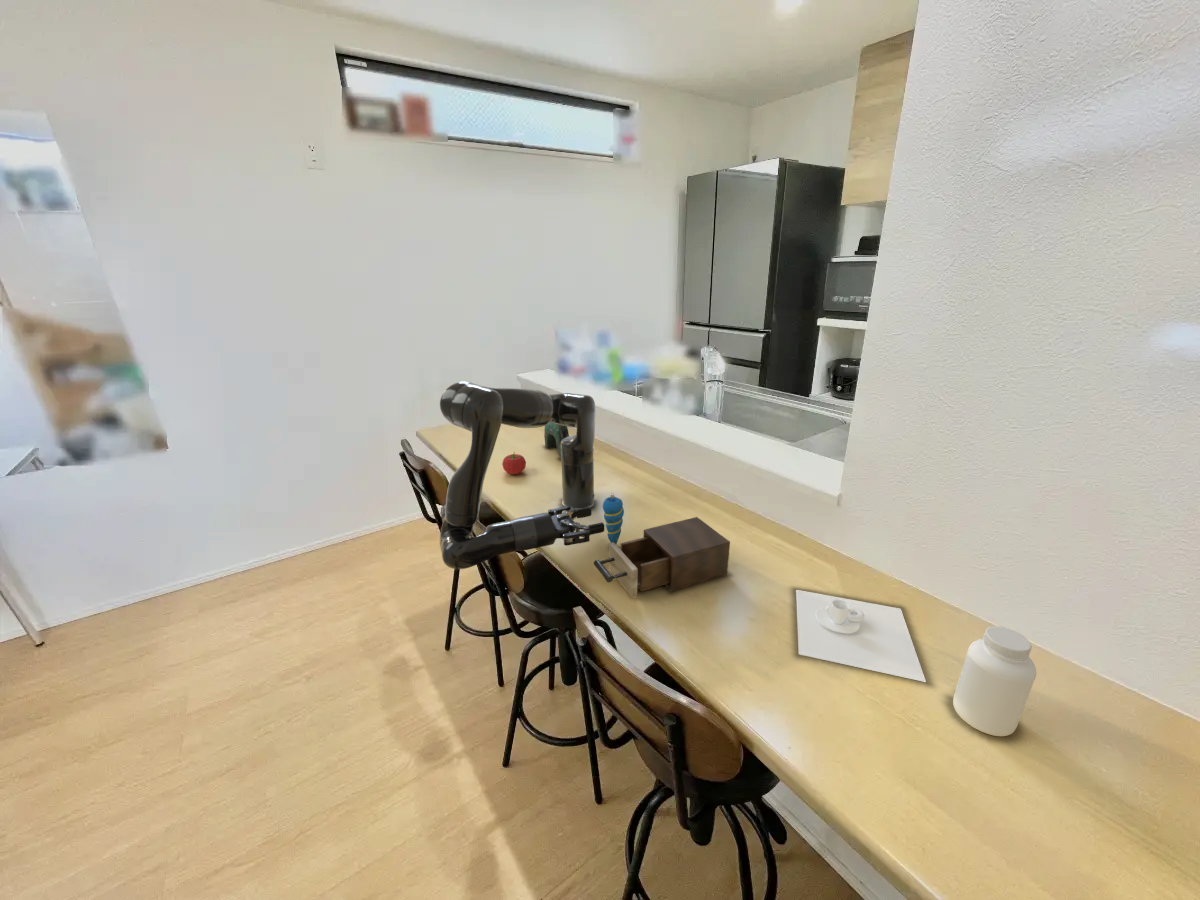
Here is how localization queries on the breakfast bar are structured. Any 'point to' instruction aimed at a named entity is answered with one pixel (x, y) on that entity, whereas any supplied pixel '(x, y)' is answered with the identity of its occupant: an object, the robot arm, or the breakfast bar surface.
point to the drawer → (636, 565)
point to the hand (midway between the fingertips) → (597, 518)
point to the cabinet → (691, 551)
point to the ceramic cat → (555, 435)
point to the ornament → (613, 517)
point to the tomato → (514, 464)
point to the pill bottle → (995, 681)
